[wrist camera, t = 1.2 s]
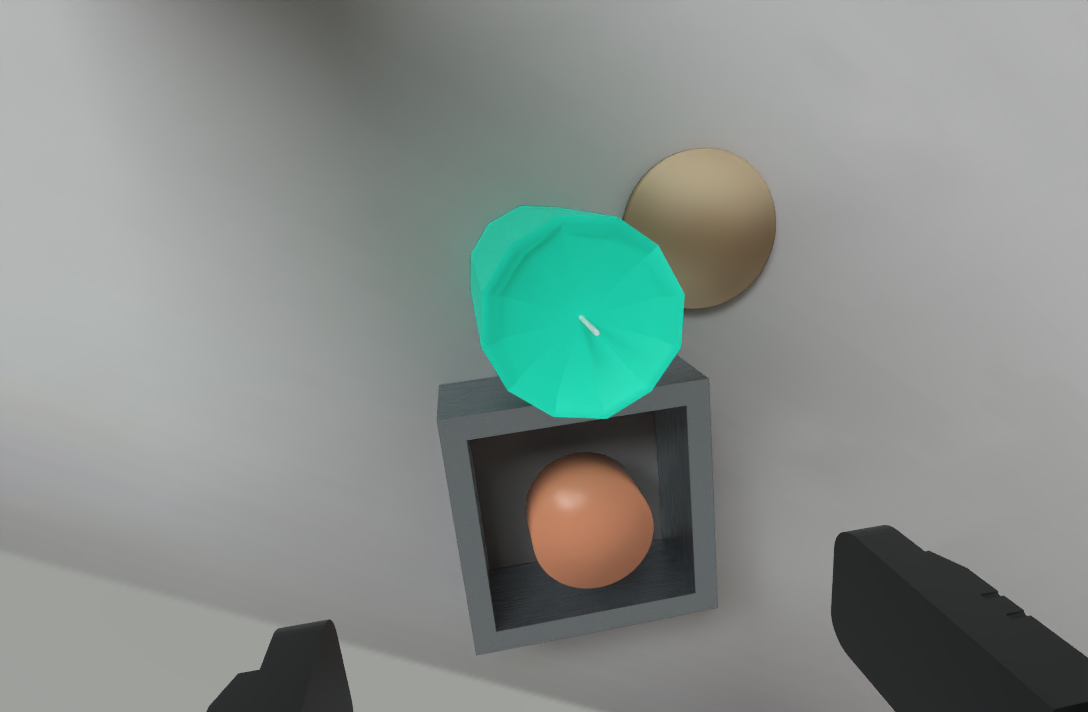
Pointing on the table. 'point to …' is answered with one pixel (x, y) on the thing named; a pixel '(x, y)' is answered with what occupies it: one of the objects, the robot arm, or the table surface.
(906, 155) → the table surface
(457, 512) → the gray open box
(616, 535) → the orange egg shape
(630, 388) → the candle
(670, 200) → the coaster
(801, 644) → the table surface
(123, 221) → the table surface
